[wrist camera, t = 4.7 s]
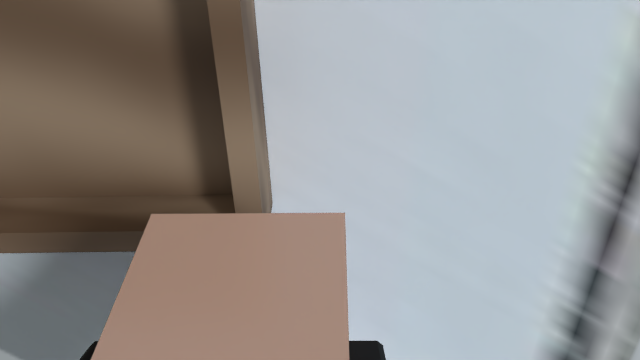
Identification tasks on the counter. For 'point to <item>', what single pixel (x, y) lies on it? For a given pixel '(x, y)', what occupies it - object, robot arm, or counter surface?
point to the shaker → (233, 290)
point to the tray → (126, 119)
